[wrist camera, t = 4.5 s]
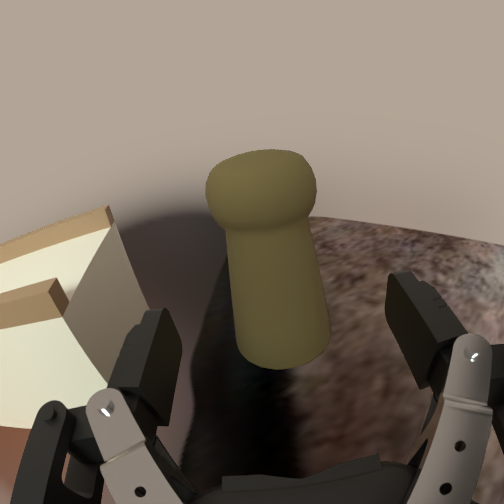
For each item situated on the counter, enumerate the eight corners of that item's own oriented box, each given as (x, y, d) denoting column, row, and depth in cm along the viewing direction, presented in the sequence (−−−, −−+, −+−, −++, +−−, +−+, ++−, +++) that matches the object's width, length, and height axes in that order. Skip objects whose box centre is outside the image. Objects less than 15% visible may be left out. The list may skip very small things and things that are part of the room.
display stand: (152, 315, 22) (108, 204, 18) (143, 426, 13) (47, 291, 9) (23, 340, 21) (-25, 254, 16) (-12, 423, 12) (-89, 328, 8)
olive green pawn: (218, 352, 18) (162, 176, 13) (263, 295, 22) (234, 144, 17) (310, 381, 15) (290, 170, 10) (343, 310, 19) (336, 139, 14)
